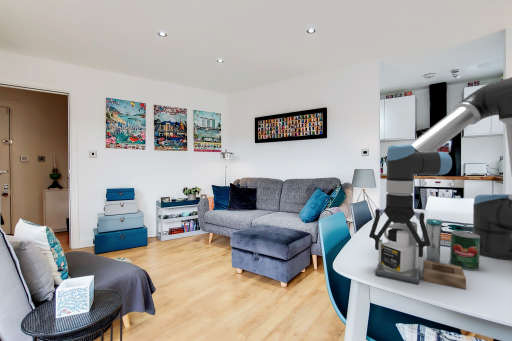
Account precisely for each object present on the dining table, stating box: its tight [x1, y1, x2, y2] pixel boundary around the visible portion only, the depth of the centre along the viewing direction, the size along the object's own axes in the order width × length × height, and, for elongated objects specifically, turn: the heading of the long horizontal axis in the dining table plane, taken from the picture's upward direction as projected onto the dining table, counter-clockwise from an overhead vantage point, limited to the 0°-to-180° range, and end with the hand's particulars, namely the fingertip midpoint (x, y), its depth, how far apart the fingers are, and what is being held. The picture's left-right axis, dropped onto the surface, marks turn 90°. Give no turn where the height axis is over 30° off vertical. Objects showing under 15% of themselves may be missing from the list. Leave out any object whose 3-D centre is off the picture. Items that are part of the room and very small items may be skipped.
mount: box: [422, 259, 467, 290], centre depth 81 cm, size 10×10×3 cm
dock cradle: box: [374, 261, 420, 286], centre depth 84 cm, size 12×12×2 cm
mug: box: [383, 220, 418, 247], centre depth 109 cm, size 12×8×11 cm
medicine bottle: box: [381, 228, 416, 272], centre depth 84 cm, size 7×7×12 cm
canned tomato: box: [449, 230, 480, 271], centre depth 90 cm, size 8×8×11 cm
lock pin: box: [425, 218, 443, 263], centre depth 93 cm, size 5×5×15 cm
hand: (397, 263), depth 84 cm, fingers closed on medicine bottle, 10 cm apart
